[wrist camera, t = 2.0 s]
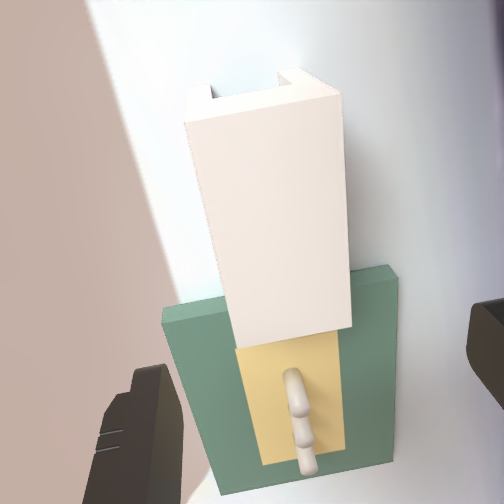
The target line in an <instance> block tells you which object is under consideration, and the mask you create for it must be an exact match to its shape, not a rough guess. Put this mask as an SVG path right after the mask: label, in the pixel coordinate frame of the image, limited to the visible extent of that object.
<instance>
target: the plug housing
mask: <svg viewBox="0 0 504 504" xmlns="http://www.w3.org/2000/svg"><path fill="white" fill-rule="evenodd" d="M277 73H278V81H279V87H274V88H268V89H263V90H257V91H252V92H247V93H241V94H236V95H230V96H225V97H220V98H214V99H213V97H212V92H211V87H210V84H209V85H204V86H198V87H193V88H189V91H188V98H187V104H186V111H185V118H184V125H185V130H186V134H187V138H188V142H189V147H190V151H191V155H192V159H193V164H194V168H195V172H196V176H197V181H198V185H199V189H200V193H201V197H202V202H203V206H204V210H205V214H206V219H207V223H208V227H209V231H210V236H211V240H212V244H213V248H214V252H215V257H216V261H217V265H218V269H219V274H220V278H221V282H222V286H223V291H224V295H225V299H226V303H227V308H228V312H229V316H230V320H231V324H232V329H233V333H234V337H235V341H236V346H237V349H240V348H245V347H250V346H255V345H260V344H266V343H271V342H276V341H281V340H286V339H291V338H297V337H302V336H307V335H312V334H317V333H322V332H328V331H333V330H338V329H343V328H348V327H352V315H351V292H350V269H349V247H348V224H347V201H346V179H345V156H344V133H343V111H342V93H341V92H339V91H337V90H335V89H334V88H332V87H330V86H329V85H327V84H325V83H323V82H322V81H320V80H318V79H316V78H315V77H313V76H311V75H310V74H308V73H306V72H304V71H303V70H301V69H299V68H295V69H290V70H285V71H279V72H277Z"/></svg>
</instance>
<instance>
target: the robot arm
mask: <svg viewBox="0 0 504 504" xmlns="http://www.w3.org/2000/svg"><path fill="white" fill-rule="evenodd" d="M466 352H467V357H468V360H469V363H470V365H471V367H472V369H473V371H474V372H475V373H476V375H477V376H478V377H479V379H480V380H481V381H482V383H483V384H484V385H485V386H486V388H487V389H488V390H489V392H490V393H491V394H492V395H493V397H494V398H495V399H496V401H497V402H498V403H499V404H500V406H501V407H502V408H503V410H504V298H501V299H496V300H490V301H485V302H480V303H476V304H474V305H473V306H472V308H471V314H470V322H469V330H468V338H467V346H466ZM183 428H184V425H183V414H182V408H181V404H180V401H179V398H178V395H177V393H176V390H175V387H174V384H173V381H172V379H171V376H170V373H169V370H168V368H167V366H166V364H159V365H154V366H149V367H144V368H139V369H136V370H135V371H134V374H133V379H132V384H131V389H130V392H126V393H121V394H117V395H116V396H115V398H114V399H113V401H112V402H111V404H110V406H109V407H108V408H107V410H106V412H105V413H104V417H103V421H102V425H101V429H100V437H98V441H97V445H96V454H94V458H93V462H92V466H91V470H90V475H89V478H88V482H87V486H86V490H85V494H84V499H83V502H82V504H180V499H181V477H182V454H183V430H184V429H183Z"/></svg>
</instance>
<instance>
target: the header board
mask: <svg viewBox="0 0 504 504" xmlns="http://www.w3.org/2000/svg"><path fill="white" fill-rule="evenodd" d="M350 292H351V315H352V327H348V328H343V329H338V330H333V331H328V332H322V333H317V334H312V335H307V336H302V337H297V338H291V339H286V340H281V341H276V342H271V343H266V344H260V345H255V346H250V347H245V348H240V349H237V346H236V341H235V337H234V333H233V329H232V324H231V320H230V316H229V312H228V308H227V303H226V299H225V296H222V297H217V298H212V299H206V300H201V301H196V302H191V303H186V304H180V305H175V306H170V307H165V308H163V314H162V323H161V324H162V327H163V330H164V333H165V336H166V339H167V341H168V344H169V347H170V350H171V353H172V356H173V359H174V362H175V364H176V367H177V370H178V373H179V376H180V379H181V381H182V385H183V387H184V390H185V393H186V396H187V399H188V402H189V405H190V407H191V410H192V413H193V416H194V419H195V422H196V425H197V428H198V431H199V433H200V436H201V439H202V442H203V445H204V448H205V451H206V454H207V457H208V459H209V462H210V465H211V468H212V471H213V474H214V477H215V480H216V482H217V485H218V488H219V491H220V494H221V496H223V495H228V494H233V493H238V492H243V491H248V490H253V489H258V488H263V487H268V486H273V485H278V484H283V483H288V482H293V481H298V480H303V479H308V478H313V477H318V476H323V475H328V474H333V473H339V472H344V471H349V470H354V469H359V468H364V467H369V466H374V465H379V464H384V463H389V462H393V449H394V412H395V375H396V339H397V302H398V277H397V276H396V274H395V273H394V272H393V270H392V269H391V268H390V266H389V265H384V266H378V267H373V268H368V269H363V270H358V271H352V272H350Z"/></svg>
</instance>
